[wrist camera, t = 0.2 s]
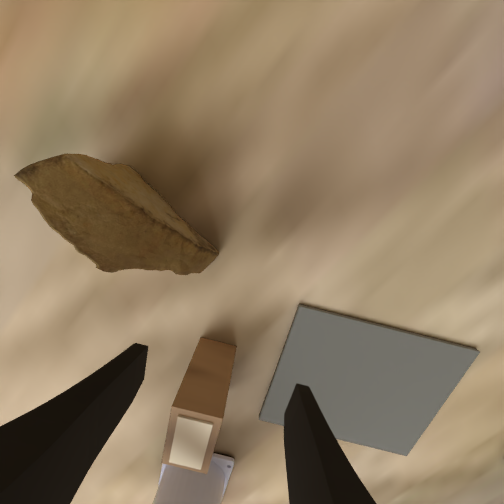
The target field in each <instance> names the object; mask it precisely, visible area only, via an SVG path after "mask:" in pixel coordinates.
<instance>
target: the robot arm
mask: <svg viewBox="0 0 504 504" xmlns="http://www.w3.org/2000/svg"><path fill="white" fill-rule="evenodd" d="M147 352H148V346H145V345H141V344H137V343H135V344H133V345H132V346H130V347H129V348H128V349H126V350H125V351H124V352H122V353H121V354H119V355H118V356H117V357H115V358H114V359H113V360H111V361H110V362H108V363H107V364H106V365H104V366H103V367H101V368H100V369H98V370H97V371H95V372H94V373H93V374H91V375H90V376H88V377H87V378H85V379H83V380H82V381H80V382H79V383H77V384H76V385H74V386H72V387H71V388H69V389H68V390H66V391H65V392H63V393H61V394H60V395H58V396H56V397H54V398H53V399H51V400H49V401H48V402H46V403H44V404H42V405H40V406H39V407H37V408H35V409H33V410H31V411H30V412H28V413H26V414H24V415H22V416H20V417H18V418H16V419H14V420H12V421H10V422H8V423H6V424H4V425H2V426H0V504H70V503H71V501H72V499H73V497H74V496H75V494H76V492H77V490H78V488H79V486H80V485H81V483H82V481H83V479H84V477H85V476H86V474H87V472H88V470H89V469H90V467H91V465H92V464H93V462H94V460H95V459H96V457H97V456H98V454H99V453H100V451H101V449H102V448H103V446H104V445H105V443H106V442H107V440H108V439H109V437H110V436H111V434H112V433H113V431H114V429H115V428H116V426H117V425H118V423H119V422H120V420H121V419H122V417H123V416H124V414H125V412H126V411H127V409H128V408H129V406H130V405H131V403H132V401H133V399H134V398H135V396H136V394H137V392H138V390H139V388H140V386H141V384H142V382H143V380H144V375H145V367H146V360H147ZM284 447H285V459H286V470H287V481H288V492H289V503H290V504H376V502H375V501H374V500H373V498H372V497H371V495H370V494H369V492H368V491H367V489H366V488H365V486H364V485H363V483H362V482H361V480H360V479H359V477H358V475H357V474H356V472H355V471H354V469H353V467H352V466H351V464H350V463H349V461H348V459H347V457H346V456H345V454H344V452H343V451H342V449H341V447H340V445H339V444H338V442H337V440H336V438H335V436H334V434H333V433H332V431H331V429H330V427H329V425H328V423H327V421H326V419H325V417H324V415H323V413H322V411H321V409H320V407H319V405H318V403H317V401H316V399H315V397H314V395H313V393H312V391H311V389H310V387H309V386H306V385H302V384H298V383H296V386H295V388H294V391H293V393H292V396H291V398H290V401H289V403H288V405H287V408H286V410H285V413H284ZM233 466H234V459H233V458H232V457H228V456H224V455H220V454H215V453H213V455H212V459H211V462H210V466H209V469H208V473H207V474H204V473H200V472H196V471H192V470H187V469H183V468H179V467H175V466H171V465H167V464H162V469H161V475H160V480H159V486H158V490H157V492H156V495H155V498H154V501H153V504H221V503H222V498H223V495H224V492H225V489H226V487H227V484H228V481H229V478H230V475H231V472H232V469H233Z"/></svg>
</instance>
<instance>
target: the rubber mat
mask: <svg viewBox="0 0 504 504" xmlns="http://www.w3.org/2000/svg"><path fill="white" fill-rule="evenodd" d="M479 353H480V351H478V350H477V349H475V348H471V347H467V346H464V345H460V344H456V343H452V342H448V341H444V340H440V339H436V338H432V337H428V336H424V335H420V334H416V333H412V332H408V331H404V330H400V329H396V328H392V327H388V326H384V325H380V324H377V323H373V322H369V321H365V320H361V319H357V318H353V317H349V316H345V315H341V314H337V313H333V312H329V311H325V310H321V309H317V308H313V307H309V306H305V305H301V304H299V306H298V309H297V312H296V314H295V317H294V320H293V323H292V326H291V328H290V331H289V334H288V337H287V340H286V342H285V345H284V348H283V351H282V354H281V356H280V359H279V362H278V365H277V368H276V370H275V373H274V376H273V379H272V381H271V384H270V387H269V390H268V393H267V395H266V398H265V401H264V404H263V407H262V409H261V412H260V415H259V420H262V421H266V422H270V423H274V424H278V425H282V426H284V413H285V410H286V408H287V405H288V403H289V401H290V398H291V396H292V393H293V391H294V388H295V386H296V383H298V384H302V385H306V386H309V387H310V389H311V391H312V393H313V395H314V397H315V399H316V401H317V403H318V405H319V407H320V409H321V411H322V413H323V415H324V417H325V419H326V421H327V423H328V425H329V427H330V429H331V431H332V433H333V434H334V436H335V438H336V439H339V440H343V441H347V442H351V443H355V444H359V445H364V446H368V447H372V448H376V449H380V450H384V451H388V452H392V453H396V454H400V455H404V456H407V455H408V454H409V452H410V451H411V449H412V448H413V447H414V445H415V444H416V442H417V441H418V439H419V438H420V437H421V435H422V434H423V432H424V431H425V430H426V428H427V427H428V425H429V424H430V422H431V421H432V420H433V418H434V417H435V415H436V414H437V412H438V411H439V410H440V408H441V407H442V405H443V404H444V403H445V401H446V400H447V398H448V397H449V395H450V394H451V393H452V391H453V390H454V388H455V387H456V386H457V384H458V383H459V381H460V380H461V378H462V377H463V376H464V374H465V373H466V371H467V370H468V369H469V367H470V366H471V364H472V363H473V361H474V360H475V359H476V357H477V356H478V354H479Z"/></svg>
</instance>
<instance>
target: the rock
mask: <svg viewBox="0 0 504 504" xmlns="http://www.w3.org/2000/svg"><path fill="white" fill-rule="evenodd" d="M14 176H15V177H16V178H17V179H18V180H19V181H21V182H22V183H23V184H25V185H26V186H27V187H28V188H29V189H30V190H31V192H32V199H31V201H32V203H33V205H34V206H35V207H36V208H37V209H38V211H39V212H40V214H41V215H42V217H43V218H44V220H45V221H46V222H47V223H48V225H49V226H50V227H51V228H52V229H53V230H55V231H56V232H57V233H59V234H60V235H61V236H62V237H63V238H64V239H65V240H67V241H68V242H69V243H71V244H73V245H74V247H75V249H76V250H77V251H78V252H79V253H81V254H83V255H86V256H87V257H88V258H89V259H90V260H91V261H92V262H94V263H95V264H96V266H97V267H96V268H98V269H100V270H102V271H105V272H117V271H119V270H124V269H144V270H159V271H163V270H171V271H173V272H174V273H175V274H179V275H188V274H190V273H201V272H202V271H203V270H204V269H205V268H206V267H207V266H208V265H209V264H210V263H211V262H213V261H214V260H215V258H216V257H217V256H218V254H219V252H218V251H217V250H216V248H215V247H214V246H212V245H211V244H210V243H209V242H208V241H207V240H205V239H204V238H203V237H202V236H200V235H199V234H198V233H197V232H196V231H195V230H194V229H193V228H192V227H191V226H190V225H188V224H187V223H186V222H185V221H184V220H182V219H181V218H180V217H179V216H178V215H177V214H176V213H175V212H174V211H173V209H172V207H171V206H170V205H169V204H168V203H167V202H166V201H164V200H163V199H162V198H161V196H160V195H159V194H158V193H157V192H156V191H154V190H153V189H152V188H151V187H150V186H149V185H148V184H146V183H145V182H144V181H143V179H142V178H141V176H140V175H139V174H138V173H137V172H136V171H135V170H133V169H132V168H130V167H129V166H127V165H123V164H115V165H111V164H110V163H105V162H102V161H100V160H98V159H95V158H92V157H89V156H87V155H81V154H63V155H59V156H55V157H52V158H49V159H45V160H42V161H39V162H36V163H33V164H31V165H29V166H27V167H25V168H23V169H21V170H20V171H19V172H18V173H17V174H15V175H14Z"/></svg>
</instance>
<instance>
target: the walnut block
mask: <svg viewBox="0 0 504 504" xmlns="http://www.w3.org/2000/svg"><path fill="white" fill-rule="evenodd" d="M236 347H237V346H233V345H229V344H225V343H221V342H217V341H213V340H209V339H205V338H200V340H199V343H198V345H197V347H196V350H195V352H194V354H193V357H192V359H191V362H190V364H189V366H188V369H187V371H186V374H185V376H184V378H183V381H182V383H181V386H180V388H179V390H178V393H177V395H176V398H175V400H174V402H173V405H172V408H171V414H170V419H169V425H168V430H167V435H166V441H165V446H164V452H163V457H162V463H163V464H167V465H171V466H175V467H179V468H183V469H187V470H192V471H196V472H200V473H204V474H207V473H208V469H209V466H210V462H211V459H212V455H213V452H214V448H215V445H216V441H217V438H218V434H219V431H220V427H221V424H222V421H223V416H224V411H225V405H226V400H227V395H228V389H229V384H230V379H231V374H232V368H233V363H234V358H235V352H236Z"/></svg>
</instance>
